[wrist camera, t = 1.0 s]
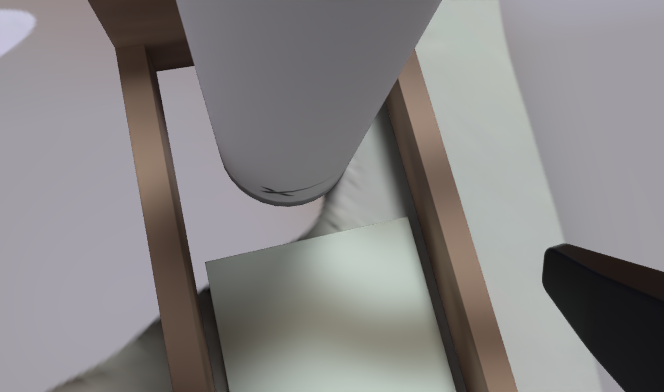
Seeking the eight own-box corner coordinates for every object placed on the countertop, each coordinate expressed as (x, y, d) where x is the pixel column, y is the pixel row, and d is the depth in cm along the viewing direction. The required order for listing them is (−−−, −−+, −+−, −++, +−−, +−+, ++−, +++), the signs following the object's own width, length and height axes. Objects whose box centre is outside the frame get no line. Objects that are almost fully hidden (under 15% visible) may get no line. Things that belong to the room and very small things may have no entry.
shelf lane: (501, 420, 22) (585, 458, 16) (206, 513, 20) (182, 597, 14) (383, 16, 26) (417, -69, 20) (126, 53, 24) (81, -31, 18)
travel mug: (295, 239, 23) (469, -165, 3) (191, 146, 23) (-185, -699, 4) (379, 147, 24) (821, -484, 5) (281, 61, 25) (340, -837, 5)
